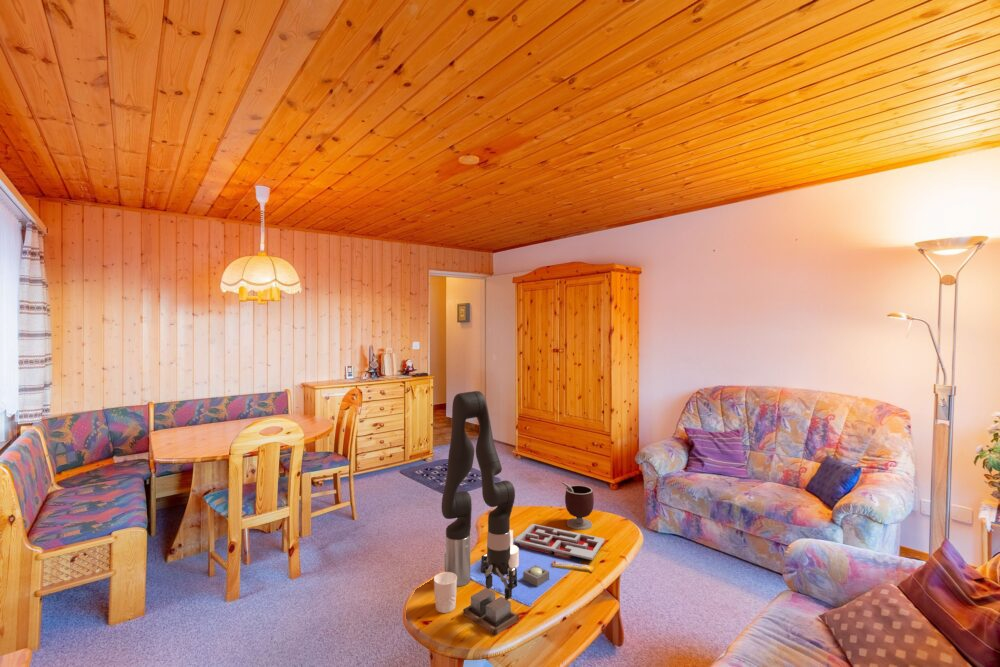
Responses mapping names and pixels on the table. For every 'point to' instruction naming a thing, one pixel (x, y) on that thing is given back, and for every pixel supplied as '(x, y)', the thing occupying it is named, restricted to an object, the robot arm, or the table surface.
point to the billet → (498, 612)
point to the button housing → (536, 579)
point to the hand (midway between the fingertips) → (498, 593)
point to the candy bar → (573, 566)
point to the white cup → (445, 591)
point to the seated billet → (481, 601)
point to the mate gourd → (579, 505)
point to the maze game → (559, 542)
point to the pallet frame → (487, 626)
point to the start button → (536, 571)
